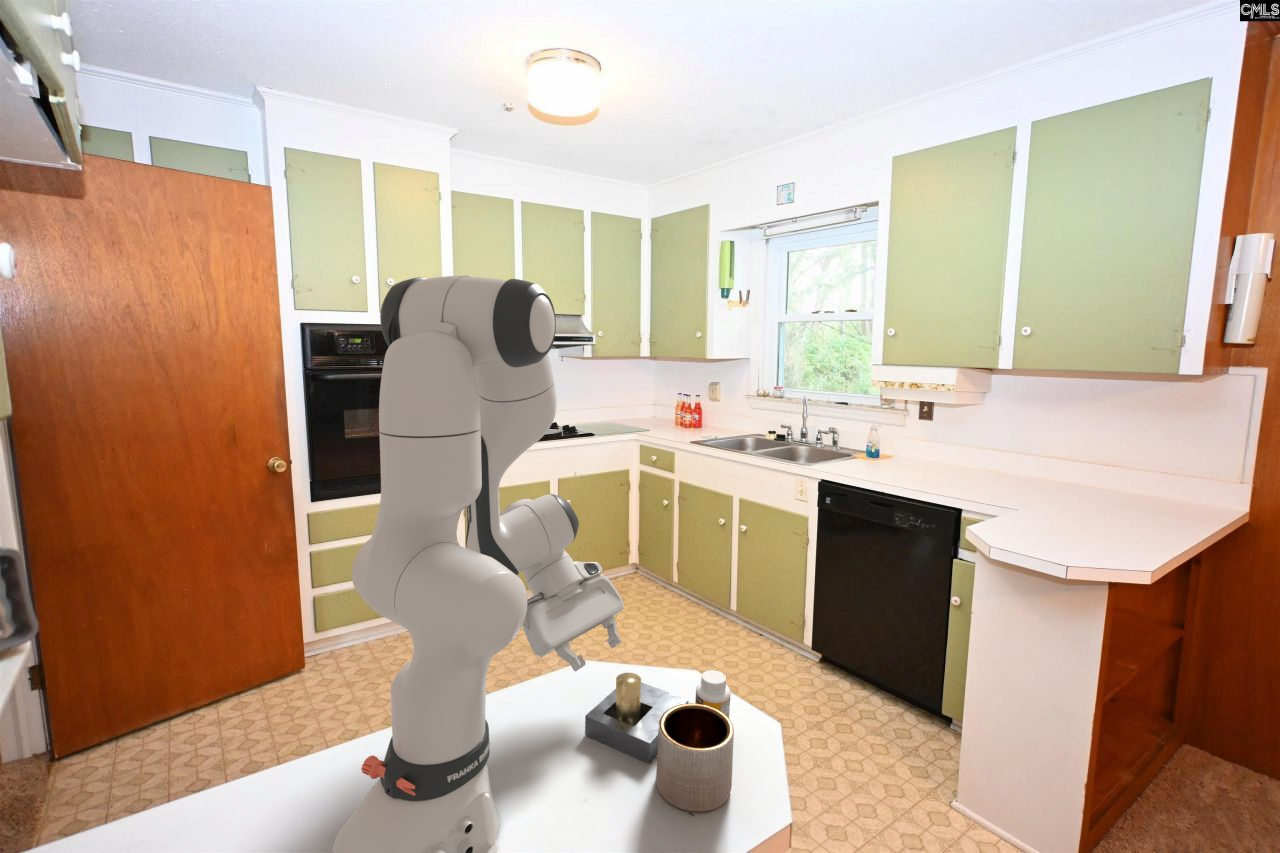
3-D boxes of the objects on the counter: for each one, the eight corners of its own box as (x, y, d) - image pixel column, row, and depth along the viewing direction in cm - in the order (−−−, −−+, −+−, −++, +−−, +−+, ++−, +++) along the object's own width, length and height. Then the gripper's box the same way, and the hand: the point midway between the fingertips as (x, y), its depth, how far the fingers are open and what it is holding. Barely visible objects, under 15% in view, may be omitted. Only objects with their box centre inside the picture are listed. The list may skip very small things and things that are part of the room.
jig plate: (649, 764, 91) (650, 743, 90) (585, 735, 97) (585, 715, 96) (687, 718, 102) (688, 699, 101) (627, 695, 108) (628, 677, 107)
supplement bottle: (686, 733, 98) (689, 675, 97) (709, 719, 102) (711, 663, 100) (712, 750, 94) (716, 691, 93) (735, 735, 98) (738, 677, 96)
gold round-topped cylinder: (631, 741, 96) (632, 689, 94) (610, 732, 98) (611, 681, 96) (644, 727, 99) (645, 677, 98) (623, 719, 101) (624, 669, 100)
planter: (728, 762, 92) (732, 705, 90) (733, 819, 81) (737, 755, 80) (658, 756, 93) (660, 699, 91) (653, 811, 82) (655, 748, 80)
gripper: (522, 596, 95) (566, 675, 90) (604, 560, 111) (645, 625, 107) (503, 614, 98) (545, 691, 94) (586, 576, 114) (625, 641, 110)
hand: (599, 656), depth 100 cm, fingers open, 8 cm apart
